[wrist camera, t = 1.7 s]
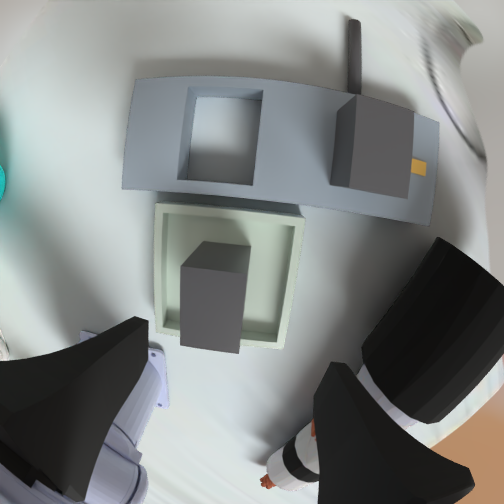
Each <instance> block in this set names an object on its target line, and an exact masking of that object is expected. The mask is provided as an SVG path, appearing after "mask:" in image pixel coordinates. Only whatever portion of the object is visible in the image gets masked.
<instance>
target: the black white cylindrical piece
mask: <svg viewBox="0 0 504 504" xmlns="http://www.w3.org/2000/svg"><path fill="white" fill-rule="evenodd" d="M361 348H362V355H363V362H364V364H363V366H362V367H361V369H360V371H359V373H358V374H357V375H356V377H357V378H358V380H359V381H360V382H361V383H362V385H363V386H364V387H365V388H366V390H367V391H368V392H369V393H370V395H371V396H372V397H373V398H374V399H375V401H376V402H377V403H378V404H379V405H380V406H381V407H382V408H383V410H384V411H385V412H386V413H387V414H388V415H389V416H390V417H391V418H392V419H393V420H394V421H395V422H396V423H397V424H398V425H399V426H401V427H402V428H403V429H404V430H406V429H407V428H408V427H409V426H412V425H414V424H415V423H417V422H418V421H420V422H423V423H426V424H431V423H437V422H440V421H441V420H442V419H443V418H444V417H445V416H446V415H448V414H449V413H450V412H451V411H452V410H453V409H454V408H455V407H456V406H457V405H458V404H459V403H460V402H461V401H462V400H463V399H464V398H465V397H466V396H467V395H468V394H469V393H470V392H471V391H472V390H473V389H474V388H475V387H476V386H477V385H478V384H479V383H480V381H481V380H482V379H483V378H484V377H485V376H486V375H487V373H488V372H489V371H490V370H491V369H492V368H493V366H494V365H495V364H496V363H497V361H498V360H499V359H500V358H501V356H502V355H503V354H504V286H503V285H502V284H501V283H500V282H499V281H498V280H497V279H495V278H494V277H493V276H492V275H491V274H490V273H489V272H488V271H486V270H485V269H484V268H483V267H481V266H480V265H479V264H478V263H476V262H475V261H474V260H473V259H471V258H470V257H469V256H467V255H466V254H465V253H463V252H462V251H460V250H459V249H457V248H456V247H455V246H453V245H452V244H450V243H448V242H447V241H445V240H443V239H442V238H440V237H437V238H436V240H435V242H434V243H433V245H432V247H431V248H430V250H429V252H428V253H427V255H426V257H425V258H424V260H423V261H422V263H421V265H420V266H419V268H418V269H417V271H416V272H415V274H414V275H413V277H412V278H411V280H410V281H409V283H408V284H407V286H406V287H405V289H404V290H403V291H402V293H401V294H400V296H399V297H398V299H397V300H396V301H395V303H394V304H393V305H392V307H391V308H390V309H389V311H388V312H387V313H386V315H385V316H384V317H383V319H382V320H381V321H380V323H379V324H378V325H377V326H376V328H375V329H374V330H373V331H372V333H371V334H370V335H369V336H368V338H367V339H366V340H365V341H364V343H363V345H362V347H361ZM267 473H268V474H266V475H265V476H264V477H262V478H261V479H260V481H261V482H263V483H261V486H262V487H265V486H266V488H267V489H270V488H272V486H273V487H274V486H278V487H279V488H281V489H284V490H287V491H296V490H299V489H302V488H304V487H306V486H308V485H310V484H312V483H314V482H317V481H319V460H318V451H317V443H316V435H315V426H314V418H313V419H312V421H311V422H310V423H309V424H308V425H307V426H305V427H304V428H303V429H302V430H300V432H299V433H298V434H297V435H296V436H295V437H294V438H292V439H291V440H290V441H288V442H287V443H286V445H284V446H283V447H282V448H280V449H279V450H277V451H276V452H275V453H273V454H272V455H271V456H270V457H269V459H268V461H267Z"/></svg>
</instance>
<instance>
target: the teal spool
mask: <svg viewBox="0 0 504 504" xmlns="http://www.w3.org/2000/svg"><path fill="white" fill-rule="evenodd" d="M4 189H5V174H4V171H3V168H2V167H1V165H0V201H1V198H2V196H3V193H4Z"/></svg>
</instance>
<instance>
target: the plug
mask: <svg viewBox="0 0 504 504" xmlns="http://www.w3.org/2000/svg"><path fill="white" fill-rule="evenodd" d="M250 254H251V246H245V245H236V244H227V243H218V242H209V241H203V242H202V243H201V244H200V245H199V246H198V247H197V248H196V249H195V250H194V252H193V253H192V254H191V255H190V256H189V257H188V258H187V259H186V260H185V262H184V263H183V264H182V265H181V266H180V345H181V346H187V347H193V348H200V349H206V350H213V351H220V352H228V353H236V354H239V348H240V340H241V332H242V325H243V317H244V309H245V300H246V291H247V282H248V273H249V263H250Z"/></svg>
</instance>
